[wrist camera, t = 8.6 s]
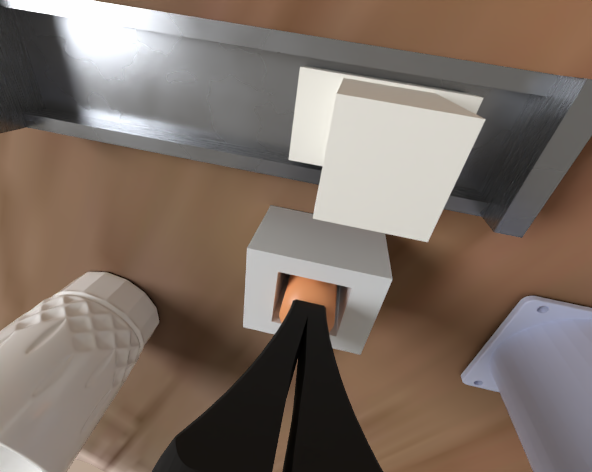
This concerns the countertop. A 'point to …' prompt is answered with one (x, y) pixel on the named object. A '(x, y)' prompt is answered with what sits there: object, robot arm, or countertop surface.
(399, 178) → the carriage
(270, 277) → the white hollow block
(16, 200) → the countertop surface
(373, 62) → the rail
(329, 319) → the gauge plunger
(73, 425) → the white cup
